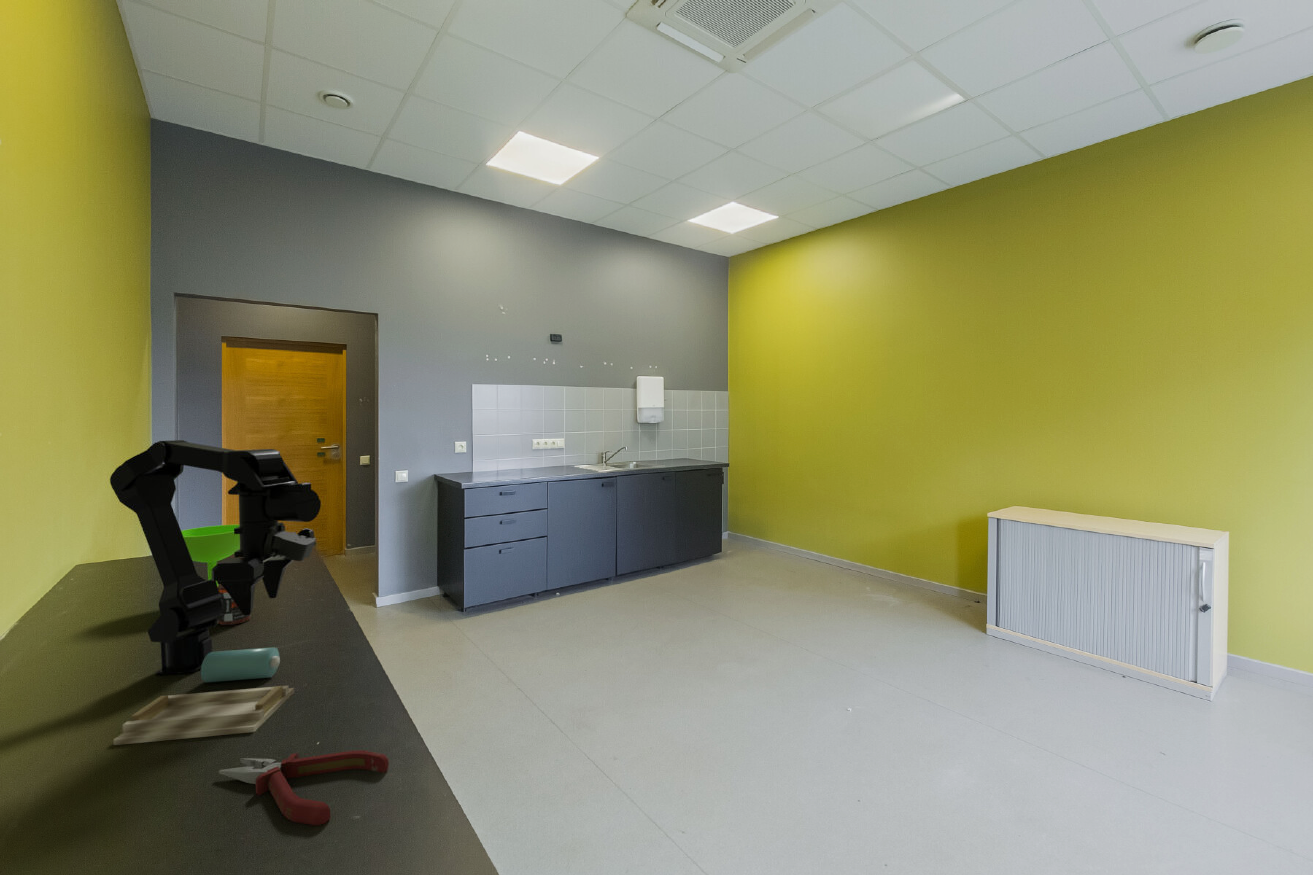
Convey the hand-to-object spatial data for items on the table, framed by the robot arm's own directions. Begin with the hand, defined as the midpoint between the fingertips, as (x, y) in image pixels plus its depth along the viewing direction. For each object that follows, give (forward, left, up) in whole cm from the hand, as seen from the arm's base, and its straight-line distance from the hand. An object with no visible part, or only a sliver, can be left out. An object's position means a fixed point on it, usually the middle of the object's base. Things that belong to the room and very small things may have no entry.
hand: (260, 606), depth 102 cm
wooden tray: (0, -16, -12) cm, 20 cm away
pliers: (+22, -34, -13) cm, 43 cm away
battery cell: (-3, -2, -12) cm, 13 cm away
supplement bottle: (-21, +30, -12) cm, 39 cm away
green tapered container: (-36, +49, -12) cm, 62 cm away
